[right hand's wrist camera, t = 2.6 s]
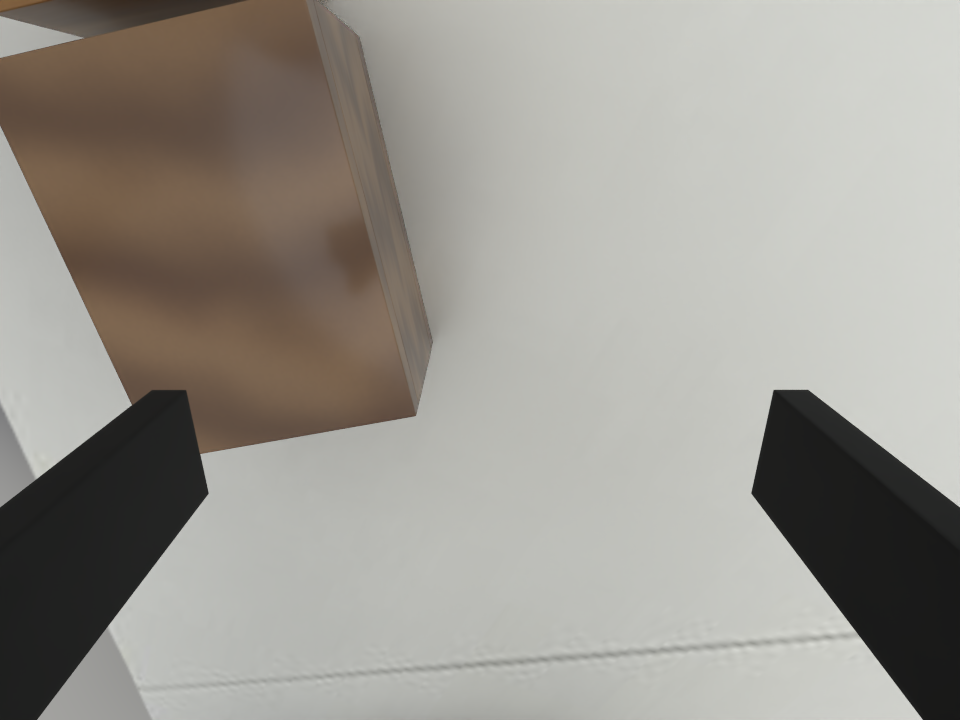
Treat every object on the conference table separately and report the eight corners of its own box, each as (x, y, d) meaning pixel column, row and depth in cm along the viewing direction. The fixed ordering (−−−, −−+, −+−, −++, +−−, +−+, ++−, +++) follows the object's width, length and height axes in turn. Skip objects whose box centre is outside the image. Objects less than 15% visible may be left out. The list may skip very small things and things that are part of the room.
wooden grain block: (129, 87, 26) (-30, 64, 18) (359, 35, 25) (302, -14, 17) (241, 378, 32) (158, 461, 24) (433, 343, 31) (416, 416, 23)
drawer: (44, -136, 22) (-124, -243, 16) (283, -198, 22) (203, -335, 15) (216, 314, 29) (145, 361, 23) (402, 278, 29) (380, 316, 22)
